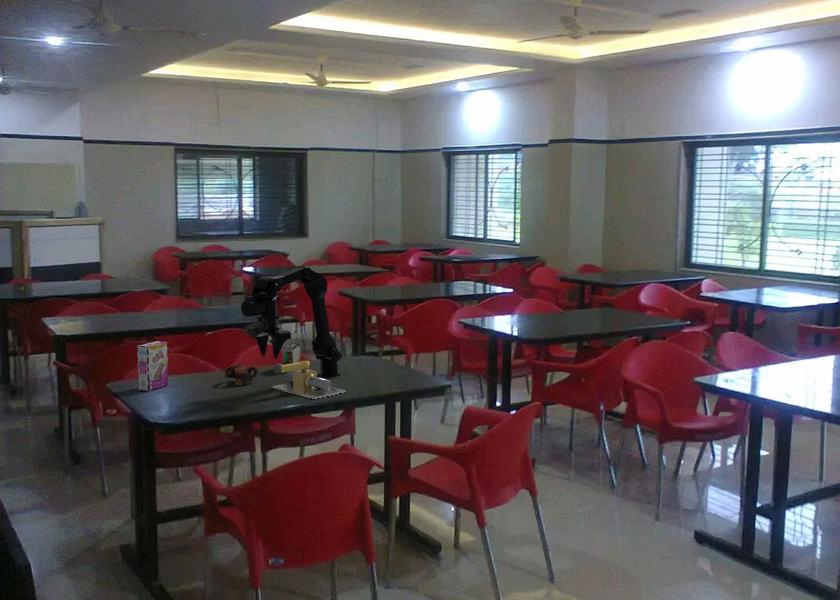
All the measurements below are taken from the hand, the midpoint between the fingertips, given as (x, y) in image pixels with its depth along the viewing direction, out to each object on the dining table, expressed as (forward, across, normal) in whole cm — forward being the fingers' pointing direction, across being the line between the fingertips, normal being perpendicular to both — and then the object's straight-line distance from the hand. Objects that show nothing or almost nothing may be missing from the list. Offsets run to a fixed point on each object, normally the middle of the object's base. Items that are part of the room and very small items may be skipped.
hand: (269, 357), depth 300 cm
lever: (+4, +6, +5) cm, 9 cm away
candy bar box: (+13, -36, -25) cm, 46 cm away
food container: (+13, -26, +29) cm, 41 cm away
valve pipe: (+13, +8, +10) cm, 18 cm away
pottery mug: (+13, -19, +1) cm, 23 cm away
